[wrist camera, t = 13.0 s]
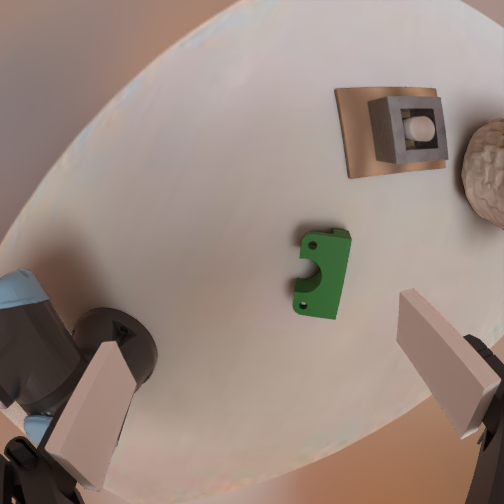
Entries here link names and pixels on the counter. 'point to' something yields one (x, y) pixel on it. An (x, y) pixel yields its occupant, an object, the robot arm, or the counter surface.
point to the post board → (361, 136)
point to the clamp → (323, 273)
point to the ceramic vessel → (486, 172)
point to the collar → (392, 134)
